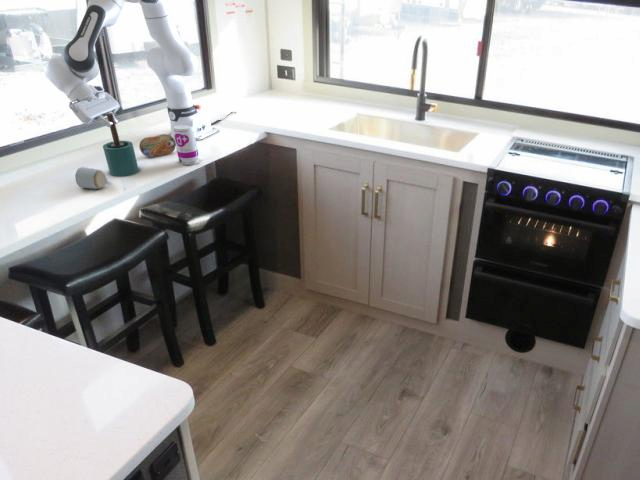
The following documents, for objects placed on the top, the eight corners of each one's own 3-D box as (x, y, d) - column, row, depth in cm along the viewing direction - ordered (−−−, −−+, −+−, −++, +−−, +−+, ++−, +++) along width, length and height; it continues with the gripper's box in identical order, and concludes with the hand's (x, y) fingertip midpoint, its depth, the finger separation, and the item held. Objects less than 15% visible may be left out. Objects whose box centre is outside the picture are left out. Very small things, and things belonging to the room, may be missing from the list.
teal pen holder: (126, 165, 240) (120, 139, 234) (144, 169, 236) (138, 143, 230) (104, 173, 232) (96, 146, 226) (122, 178, 228) (115, 150, 222)
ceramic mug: (98, 192, 215) (93, 172, 211) (78, 190, 216) (72, 170, 212) (114, 182, 224) (109, 163, 220) (94, 180, 225) (89, 161, 221)
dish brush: (120, 151, 233) (110, 111, 224) (129, 153, 231) (119, 113, 222) (110, 154, 229) (99, 114, 220) (118, 157, 227) (108, 116, 218)
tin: (143, 159, 246) (139, 140, 242) (140, 157, 248) (136, 138, 244) (177, 152, 255) (173, 133, 250) (174, 150, 257) (170, 131, 252)
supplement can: (193, 166, 240) (187, 130, 232) (175, 164, 241) (168, 128, 233) (203, 159, 247) (196, 124, 239) (185, 158, 248) (178, 123, 240)
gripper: (69, 97, 209) (100, 126, 213) (104, 85, 226) (132, 112, 230) (62, 109, 213) (93, 137, 216) (97, 96, 229) (125, 122, 233)
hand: (113, 124), depth 223 cm, fingers closed on dish brush, 2 cm apart
